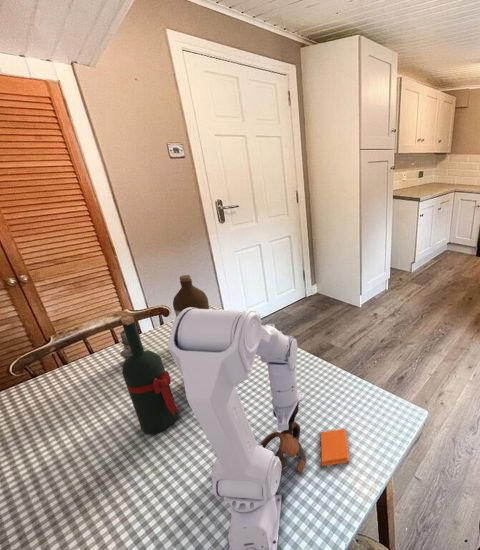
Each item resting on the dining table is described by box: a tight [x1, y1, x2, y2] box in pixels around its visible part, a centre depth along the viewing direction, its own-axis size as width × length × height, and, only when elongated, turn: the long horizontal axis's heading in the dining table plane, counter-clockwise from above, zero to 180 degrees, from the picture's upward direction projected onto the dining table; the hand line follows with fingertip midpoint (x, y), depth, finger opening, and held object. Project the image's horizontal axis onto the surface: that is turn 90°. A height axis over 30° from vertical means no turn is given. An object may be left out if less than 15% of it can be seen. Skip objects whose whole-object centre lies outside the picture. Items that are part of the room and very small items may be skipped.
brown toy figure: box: [260, 421, 307, 474], centre depth 67 cm, size 12×10×8 cm
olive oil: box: [172, 274, 210, 318], centre depth 106 cm, size 11×11×25 cm
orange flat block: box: [320, 428, 350, 467], centre depth 70 cm, size 8×6×1 cm
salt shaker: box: [119, 328, 132, 362], centre depth 98 cm, size 6×6×12 cm
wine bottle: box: [120, 315, 180, 436], centre depth 71 cm, size 8×10×30 cm
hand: (289, 427), depth 73 cm, fingers closed
